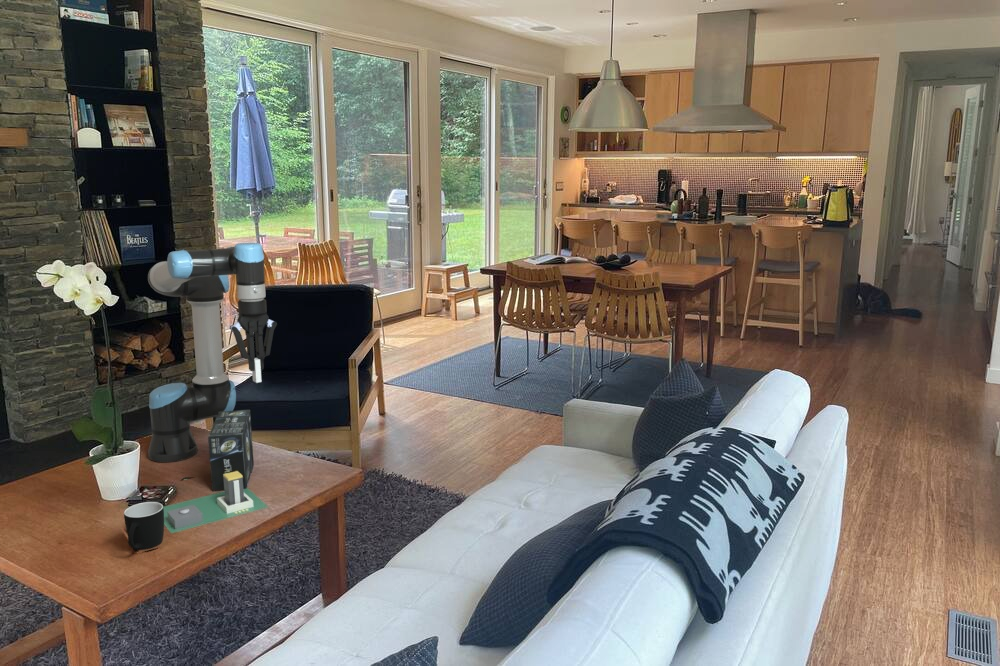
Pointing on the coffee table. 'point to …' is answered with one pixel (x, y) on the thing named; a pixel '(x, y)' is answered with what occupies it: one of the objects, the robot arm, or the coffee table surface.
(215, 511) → the board
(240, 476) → the plug
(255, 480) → the coffee table surface
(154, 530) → the mug
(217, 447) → the box
